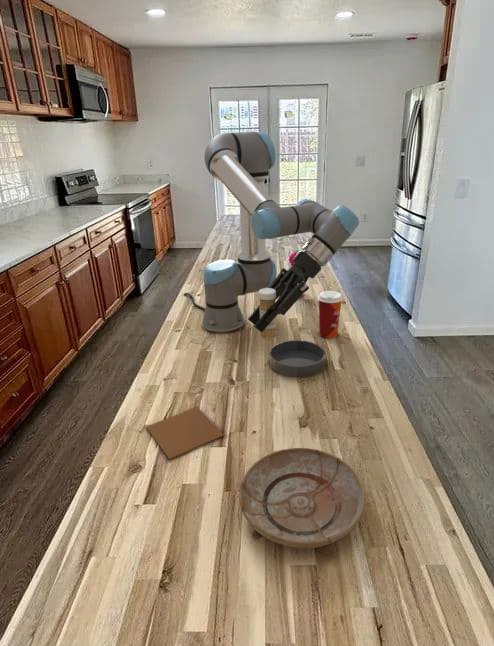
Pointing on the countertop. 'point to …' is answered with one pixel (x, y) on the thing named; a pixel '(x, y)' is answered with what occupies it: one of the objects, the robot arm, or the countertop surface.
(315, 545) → the ceramic bowl
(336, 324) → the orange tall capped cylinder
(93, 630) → the countertop surface
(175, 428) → the cork mat
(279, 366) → the pan
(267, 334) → the sprinkles bottle
